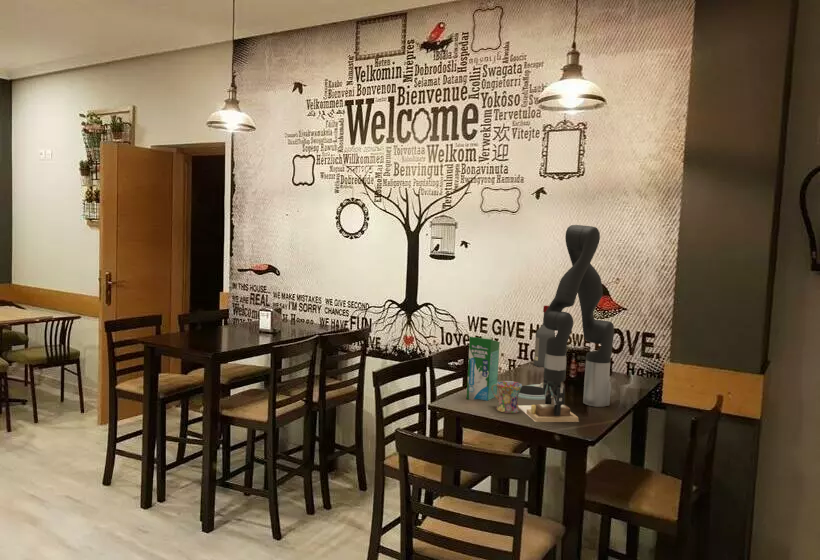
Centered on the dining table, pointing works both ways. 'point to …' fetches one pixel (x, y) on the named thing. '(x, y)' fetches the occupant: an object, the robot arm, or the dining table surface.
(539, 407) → the brown wooden block
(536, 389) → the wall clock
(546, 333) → the liquor
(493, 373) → the milk carton
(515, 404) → the mug
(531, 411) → the wooden tray
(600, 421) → the dining table surface
